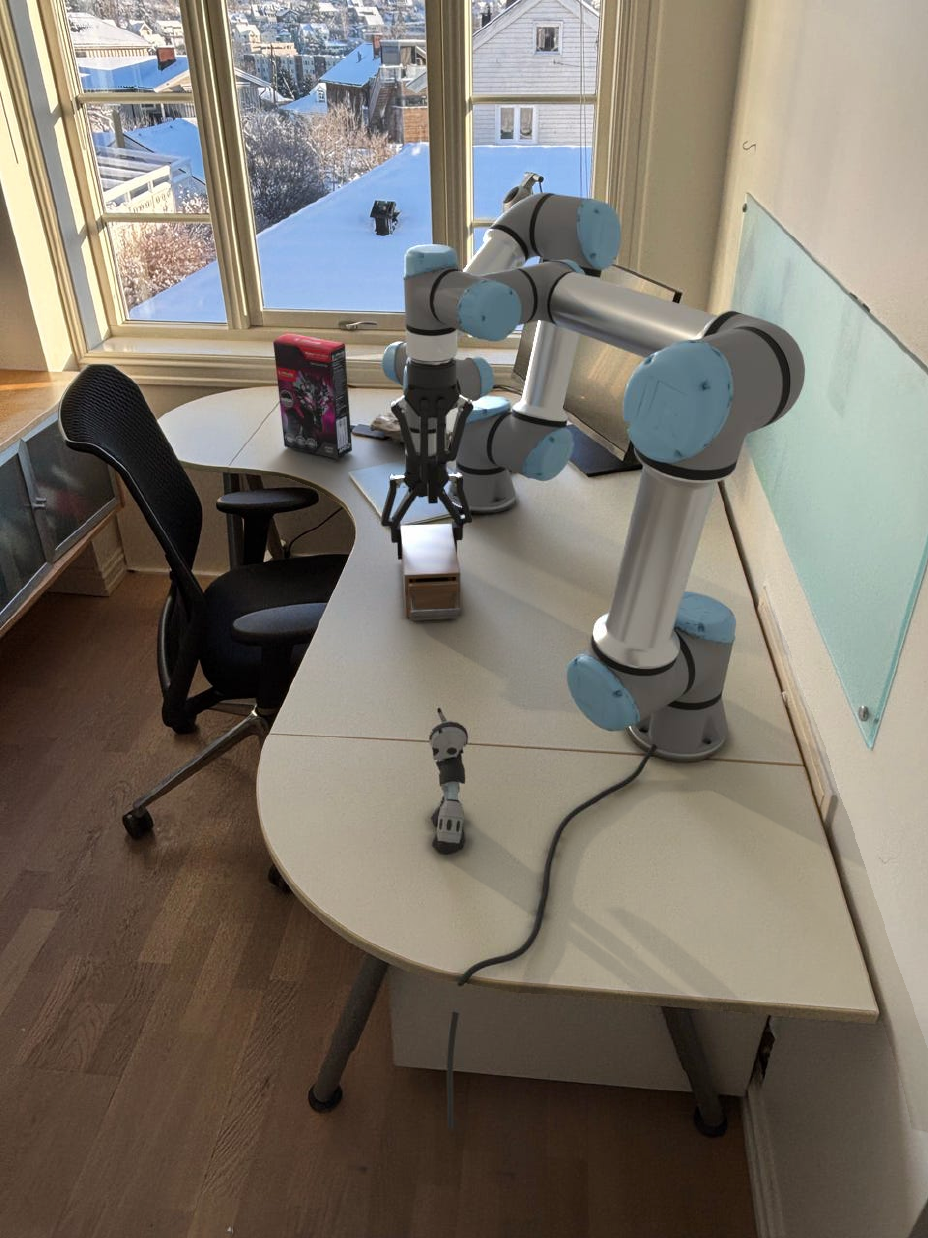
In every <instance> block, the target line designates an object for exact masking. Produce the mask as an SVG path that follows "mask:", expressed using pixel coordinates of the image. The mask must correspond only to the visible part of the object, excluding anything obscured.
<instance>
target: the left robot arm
mask: <svg viewBox="0 0 928 1238" xmlns="http://www.w3.org/2000/svg"><path fill="white" fill-rule="evenodd" d="M621 242H622V227H621V221H620V220H619V215H618V213H617V211H616V209H615V208H614V207H613V206H612V205H610V204H609V203H607V202H605V201H602V200H597V199H594V198H586V197H578V196H571V195H565V194H557V193H554V192H538V193H534V194H531V195H529V196H527V197H525V198H523V199H521V200H519V201H518V202H516V203H514V204H513V205H512V206H510V207H509V208H508V209H507V210H506V211H504V212H503V213H502V214H501V215H500V216H499V217H498V218H497V219H496V220H495V221H494V222H493V223H492V225H491V226H490V227H489V228H488V230H487V231H486V232H485V234H484V236H483V244H482V246H481V247H480V248H479V250H478V251H476V253H475V255H474V256H473V257H472V258H471V260H470V261H469V262H468V264H467V265H466V267H464V269H463V270H462V271H464V272H467V273H470V274H474V275H484V274H489V273H494V272H499V271H505V270H510V269H515V268H520V267H524V265H526V263H527V262H528V261H529V260H530V259H533V258H535V257H540V258H542V262H541V263H544V262H546V261H550V260H571V261H574V262H576V263H577V264H578V266H579V267H580V268H581V269H582V270H583V271H584V273H585V275H586V276H590V277H593V278H596V279H600V280H601V276H602V271H605V270H607V269H610V267H612V266H613V264H614V263H615V260H616V259H617V258H618V256H619V252H620V249H621V244H622V243H621ZM464 334H465V333H464V332H462V331H460V330H457V343H458V342H459V341H460V340H461V339H462V337H463V336H464ZM580 335H581V334H580V333H577V332H575V331H572V330H569V329H567V328H564V327H560V326H557V325H554V324H552V323H549V322H546V321H537V325H536V330H535V335H534V339H533V343H532V344H533V345H532V350H531V354H530V359H529V364H528V368H527V374H526V378H525V384H524V388H523V393H522V397H521V400H520V401H519V402H517V403H515V404H514V405H513V406H512V405H511V402H510V400H509V399H507V398H505V397H502V396H488V395H489V394H490V393H491V392H492V390H493V388H494V385H495V374H494V373H495V372H494V370H493V367H492V365H491V364H490V362H489V361H487V360H486V359H485V358H483V357H481V356H472V357H470V356H469V357H466V358H464V359H459V358H455V359H456V360H457V388H458V389H459V393H460V395H461V396H463V397H465V398H470V399H471V400H472V403H473V406H474V408H473V410H472V411H471V413H470V414H469V416H468V417H467V419H466V423H465V427H464V431H463V434H462V438H461V442H460V446H459V449H458V453H457V457H456V460H455V469H454V471H453V473H449V472H448V470H447V463H446V464H445V480H444V482H441V483H438V500H439V501H440V502H441V503H442V504H443V506H444V508H445V509H446V510H447V512H448V514H449V515H450V517H451V518H452V521H451V525H452V531H453V536H454V542H455V547H456V553H457V554H458V541H462V540H463V538H464V525H467V524H472V523H473V520H474V519H473V515H491V514H498V513H500V512H504V511H506V510H508V509H510V508H511V507H513V505H515V502H516V489H515V486H514V483H513V479H512V476H511V473H512V472H514V473H516V474H519V475H521V476H524V478H527V479H533V480H535V481H540V482H547V481H551V480H552V479H554V478H556V477H557V476H558V475H560V473H561V472H562V471H563V470H564V469H565V468H566V466H567V464H569V461H570V459H571V457H572V455H573V452H574V448H575V447H574V446H575V440H574V435H573V433H572V431H570V430H569V429H568V428H567V425H568V421H569V417H568V415H567V414H566V411H565V410H564V408H563V405H564V403H565V400H566V397H567V391H568V388H569V382H570V378H571V373H572V369H573V365H574V360H575V357H576V352H577V348H578V342H579V338H580ZM407 359H408V356H407V354H406V341H396V342H395V341H394V342H393V343H391V344H389V345H388V346H387V348H386V349H385V350H384V352H383V355H382V359H381V369H382V372H383V374H384V376H385V377H386V378H387V379H388V380H390V381H391V382H394V383H396V384H399V385H400V386H402V394H403V395H402V396H404V391H405V389H406V386H407V366H406V360H407ZM457 404H458V403H457V402H456V404H455V405H454V406H453V408H452V409H451V410H450V411H453V410H454V409H456V414H455V417H456V416H457V412H458V409H457ZM406 408H407V411H406V412H405V414H406V418H407V421H408V425H409V428H410V432H411V436H412V439H413V443H414V446H415V450H416V452H419V453H420V422H419V416H418V415H417V414H416V413H415V412H414V411H413V409H412V408H411V407H410V406H409V404H408V403H407V404H406ZM511 409H512V410H511ZM447 415H448V414H447ZM447 415H446V416H445V451H447V449H446V448H447V442H446V429H447V417H448V416H447ZM404 447H405V448H406V446H405V445H404ZM404 458H405V460H404V463H405V471H404V473H403V475H395V474H394V473H391V474H389V476H388V480H389V481H388V482H389V487H388V491H387V495H386V499H385V502H384V504H383V505H384V506H383V509H382V512H381V516H380V525H381V527H388V528H389V529H390V540H391V543H392V544H396V547H397V560H400V561H401V560H402V545H401V526H402V525H401V523H402V520H403V519H404V517H405V516H406V514H407V512H408V510H409V508H410V507H411V505H412V504H413V503H414V502H415V500H416V498H417V497H418V498H425V497H428V492H427V483H422V482H421V477H420V464H419V463H416V462H414V463H412V462H410V460H409V457H408V453H407V450H406V449H405V450H404ZM431 459H436V418H429V419H428V460H431ZM448 482H449V485H448V489H447V491H446V489H445V486H446V485H447V484H448ZM402 484H404V485H405V486H406V487H407V490H406V493H405V495H404V496H403V498H402V500H401V501H400V503H399V505H398V507H397V508H396V510H395V512H394V513H393V515H392V510H393V506H394V503H395V500H396V497H397V490H398V489H400V488H401V486H402ZM452 502H454V503H456V504H458V505H460V506H462V508H461V507H458V506H456V505H454V504H453V503H452ZM459 511H460V512H463V514H462V515H461V513H460V512H459ZM472 514H473V515H472ZM391 515H392V517H391Z"/></svg>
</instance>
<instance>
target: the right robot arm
mask: <svg viewBox="0 0 928 1238" xmlns="http://www.w3.org/2000/svg"><path fill="white" fill-rule="evenodd" d="M459 265H460V264H459V259H458V253H457V251H456V250H455V249H454V248H453V247H451V246H448V245H444V244H437V243H436V244H435V243H433V244H430V243H427V244H419V245H415V246H413V247H410V248H409V249H407V251H406V252H405V255H404V273H403V274H404V275H403V277H402V278H403V287H404V316H405V343H406V354H407V356H408V359H407V360H406V366H407V386H406V389H405V391H404V396H403V395H402V396H401V397H399V398H398V399H397V400H396V399H392V400H391V401H390V411H391V413H393V414H394V415H395V417H396V418H397V419H398V422H399V425H400V429H401V432H402V436H403V439H404V447H405V446H406V447H405V450H407V453H408V457H409V460H410V462H412V463H414V462H416V463H419V464H420V477H421V482H422V483H427V492H428V496H427V502H428V503H427V504H429V505H432V504H433V505H434V504H439V498H438V483H441V482H444V480H445V464H446V465H447V463H449V462H456V457H457V453H458V449H459V446H460V442H461V438H462V434H463V431H464V427H465V423H466V419H467V417H468V416H469V414H470V413H471V411H472V410H473V408H474V406H473V403H472V400H471V399H470V398H465V397H463V396H461V395H460V393H459V389H458V388H457V360H456V359H457V358H456V356H457V354H458V342H457V330H460V331H462V332H464V334H467V335H468V336H471V337H472V338H476V339H478V340H485V341H488V342H502V341H504V340H506V339H507V338H508V336H510V335H511V334H512V333H514V331H516V329H517V327H518V326H522V325H525V324H530V323H534V322H535V323H536V322H538V321H546V322H549V323H552V324H554V325H557V326H560V327H564V328H567V329H569V330H572V331H575V332H577V333H580V334H579V335H582V336H586V337H588V338H591V339H593V340H596V341H599V342H601V343H604V344H606V345H609V346H612V347H615V348H617V349H620V350H623V351H626V352H627V353H631V354H634V355H635V356H639V357H642V358H644V359H643V361H642V362H640V363H639V365H638V366H636V368H635V369H634V371H633V372H632V373H631V375H630V377H629V380H628V382H627V385H626V387H625V390H624V395H623V401H622V418H623V422H624V423H627V425H628V428H627V430H626V433H627V435H628V437H629V439H630V441H631V443H632V444H633V453H634V455H635V457H636V459H637V460H638V462H639V463H640V464H641V465H642V470H641V474H640V478H639V483H638V486H637V490H636V494H635V495H636V496H635V498H634V503H633V509H632V513H631V516H630V521H629V525H628V530H627V532H626V533H627V534H626V538H625V542H624V546H623V551H622V555H621V561H620V563H619V569H618V573H617V576H616V581H615V584H614V589H613V590H614V591H613V594H612V598H611V602H610V605H609V606H610V607H609V611H608V613H605V614H603V615H602V616H600V617H599V618H598V619H597V620H596V621H595V624H594V626H593V629H592V633H591V638H590V642H589V646H588V649H587V650H586V651H585V652H584V653H579V654H577V655H576V656H575V657H574V658H573V659H572V660H570V662H569V663H568V665H567V669H566V683H567V687H568V690H569V693H570V696H571V697H572V699H573V700H574V703H575V704H576V706H577V707H578V709H579V710H580V712H581V713H582V714H583V715H584V716H585V717H586V718H587V719H588V721H590V722H591V723H593V724H594V725H595V726H596V727H598V728H600V729H602V730H604V731H607V732H621V731H624V730H625V729H626V732H627V734H628V736H629V738H630V739H631V741H632V742H634V744H636V745H637V746H638V747H639V748H640V749H641V750H643V751H645V752H646V753H645V755H644V757H643V758H642V759H641V762H640V763H639V765H638V766H637V768H636V770H634V772H632V774H630V776H628V777H626V778H625V779H623V780H622V781H620V782H618V783H617V784H614V785H612V786H609V788H606V789H604V790H603V791H601V792H600V793H598V794H596V795H595V796H593V797H591V798H590V799H588V800H587V801H584V802H583V803H582V804H580V805H578V806H577V807H576V808H574V809H573V810H572V811H571V812H569V813H568V815H566V816H565V817H564V818H563V820H562V821H561V822H560V824H559V825H558V827H557V829H556V830H555V833H554V835H553V838H552V840H551V843H550V847H549V850H548V853H547V857H546V861H545V865H544V871H543V880H542V881H543V882H542V890H541V897H540V900H539V904H538V908H537V912H536V917H535V920H534V925H533V928H532V930H531V933H530V935H529V936H528V938H527V940H526V941H525V942H524V943H523V944H522V945H521V946H520V947H519V948H517V949H516V950H514V951H512V952H510V953H507V954H503V955H500V956H495V957H492V958H491V957H490V958H488V959H484V960H481V961H479V962H477V963H475V964H473V965H472V966H471V967H469V968H468V969H467V970H466V971H465V972H464V973H462V975H461V976H460V978H459V979H458V981H457V983H456V985H457V987H463V986H464V985H465V984H466V982H467V981H468V980H469V979H470V978H471V977H472V976H473V975H474V974H476V973H477V972H479V971H481V970H482V969H485V968H489V967H491V966H496V965H499V964H503V963H507V962H510V961H513V960H515V959H517V958H519V957H521V956H522V955H523V954H525V953H526V952H527V951H528V950H529V949H530V948H531V946H532V945H533V943H534V942H535V941H536V939H537V937H538V935H539V932H540V930H541V926H542V923H543V918H544V913H545V909H546V905H547V900H548V896H549V889H550V880H551V869H552V864H553V860H554V856H555V852H556V849H557V847H558V846H557V845H558V843H559V840H560V837H561V835H562V833H563V832H564V829H565V828H566V826H567V825H568V824H569V823H570V822H571V820H572V819H574V817H576V816H577V815H578V814H580V813H581V812H582V811H584V810H586V809H588V808H589V807H591V806H592V805H594V804H596V803H597V802H599V801H600V800H602V799H603V798H605V797H606V796H607V797H608V795H611V794H612V793H615V792H616V791H619V790H620V789H622V788H624V787H626V786H627V785H629V784H631V783H632V782H633V781H634V780H636V778H638V776H640V774H641V773H642V771H643V770H644V768H645V766H646V764H647V763H648V762H649V760H650V758H651V757H652V756H654V757H656V758H659V759H662V760H666V761H670V762H675V763H694V762H700V761H703V760H706V759H709V758H711V757H714V755H716V754H718V752H720V751H721V750H722V748H723V747H724V744H725V743H726V740H727V739H726V738H727V734H728V721H727V716H726V712H725V708H724V707H725V706H724V701H723V692H724V686H725V682H726V678H727V674H728V669H729V664H730V659H731V654H732V651H733V647H734V642H735V640H736V627H737V620H736V617H735V615H734V613H733V611H732V609H730V608H729V607H728V606H727V605H726V604H725V603H723V602H722V601H720V600H719V599H717V598H714V597H712V596H709V595H707V594H703V593H699V592H693V591H689V590H686V588H687V585H688V581H689V578H690V576H691V575H690V574H691V572H692V568H693V565H694V561H695V558H696V554H697V551H698V549H699V548H698V547H699V544H700V540H701V537H702V534H703V530H704V527H705V524H706V520H707V518H708V513H709V510H710V507H711V503H712V500H713V496H714V494H715V490H716V486H717V483H719V482H721V481H724V480H726V479H728V478H729V477H731V476H732V475H733V474H734V472H735V470H736V467H737V463H738V461H739V458H740V454H741V452H742V448H743V444H744V441H745V439H746V437H747V435H748V434H751V433H754V432H756V431H758V430H760V429H763V428H765V427H767V426H770V425H772V424H774V423H776V422H777V421H779V420H780V419H782V418H783V417H785V415H786V414H788V413H789V412H790V410H792V408H793V407H794V406H795V404H796V403H797V401H798V400H799V397H800V395H801V393H802V390H803V387H804V384H805V378H806V377H805V375H806V367H805V366H806V365H805V359H804V355H803V353H802V350H801V347H800V345H799V344H798V342H797V341H796V340H795V338H794V337H793V336H792V335H791V334H790V333H789V332H788V331H787V330H786V329H784V328H783V327H780V326H779V325H777V324H775V323H773V322H770V321H769V320H765V319H761V318H758V317H756V316H752V315H749V314H745V313H742V312H738V311H736V310H726V311H723V312H720V313H719V314H718V315H716V314H714V313H710V312H707V311H703V310H701V309H697V308H694V307H692V306H688V305H684V304H681V303H678V302H676V301H675V302H674V301H672V300H668V299H666V298H665V299H664V298H661V297H658V296H655V295H651V294H650V293H649V294H648V293H645V292H642V291H638V290H636V289H632V288H629V287H625V286H622V285H618V284H615V283H613V282H610V281H606V280H603V279H601V278H600V279H596V278H593V277H590V276H586V275H585V273H584V271H583V270H582V269H581V268H580V267H579V266H578V264H577V263H576V262H574V261H571V260H550V261H546V262H544V263H542V262H540V263H535V264H530V265H526V266H523V267H520V268H515V269H510V270H505V271H499V272H494V273H489V274H484V275H474V274H470V273H467V272H464V271H463V270H462V269H459ZM456 402H457V403H458V404H457V408H456V410H457V409H458V412H457V411H456V413H457V416H456V415H455V420H454V423H453V428H452V431H451V432H452V435H451V436H450V438H449V443H448V446H447V450H446V451H445V449H446V448H445V416H446V415H449V413H450V411H452V410H453V409H452V408H453V406H454V405H455V404H456ZM407 403H408V404H409V406H410V407H411V408H412V409H413V411H414V412H415V413H416V414H417V415H418V416H419V422H420V453H419V452H416V450H415V446H414V443H413V439H412V436H411V432H410V428H409V425H408V421H407V418H406V414H405V412H406V411H407V408H406V404H407ZM451 409H452V410H451ZM429 418H436V459H431V460H428V419H429ZM451 1013H452V1014H451V1015H452V1016H451V1021H450V1026H449V1027H450V1028H449V1035H448V1045H447V1057H446V1058H447V1059H446V1095H447V1096H446V1097H447V1098H446V1099H447V1119H446V1120H447V1121H446V1122H447V1125H446V1126H447V1127H446V1128H447V1131H452V1130H453V1128H454V1054H455V1045H456V1044H455V1043H456V1034H457V1028H458V1021H459V1015H460V1014H459V1012H457V1011H452V1012H451Z"/></svg>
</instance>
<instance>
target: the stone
mask: <svg viewBox="0 0 928 1238" xmlns="http://www.w3.org/2000/svg"><path fill="white" fill-rule="evenodd" d="M369 429H370V431H371V432H381V433H382V435H384V436H386V437H389V438H391V439H392V441H393V442H395V443H404V439H403V436H402V432H401V429H400V425H399V422H398V419H397V418H396V417H395V415H394V414H393V413H392V412H386V413H379V414H377V415H375V417H374V418H373V419H372V422H371V424H370V426H369ZM451 435H452V431H451V430H449V429H447V428H446V443H447V442H448V441H450V439H451ZM404 444H405V443H404Z"/></svg>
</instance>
